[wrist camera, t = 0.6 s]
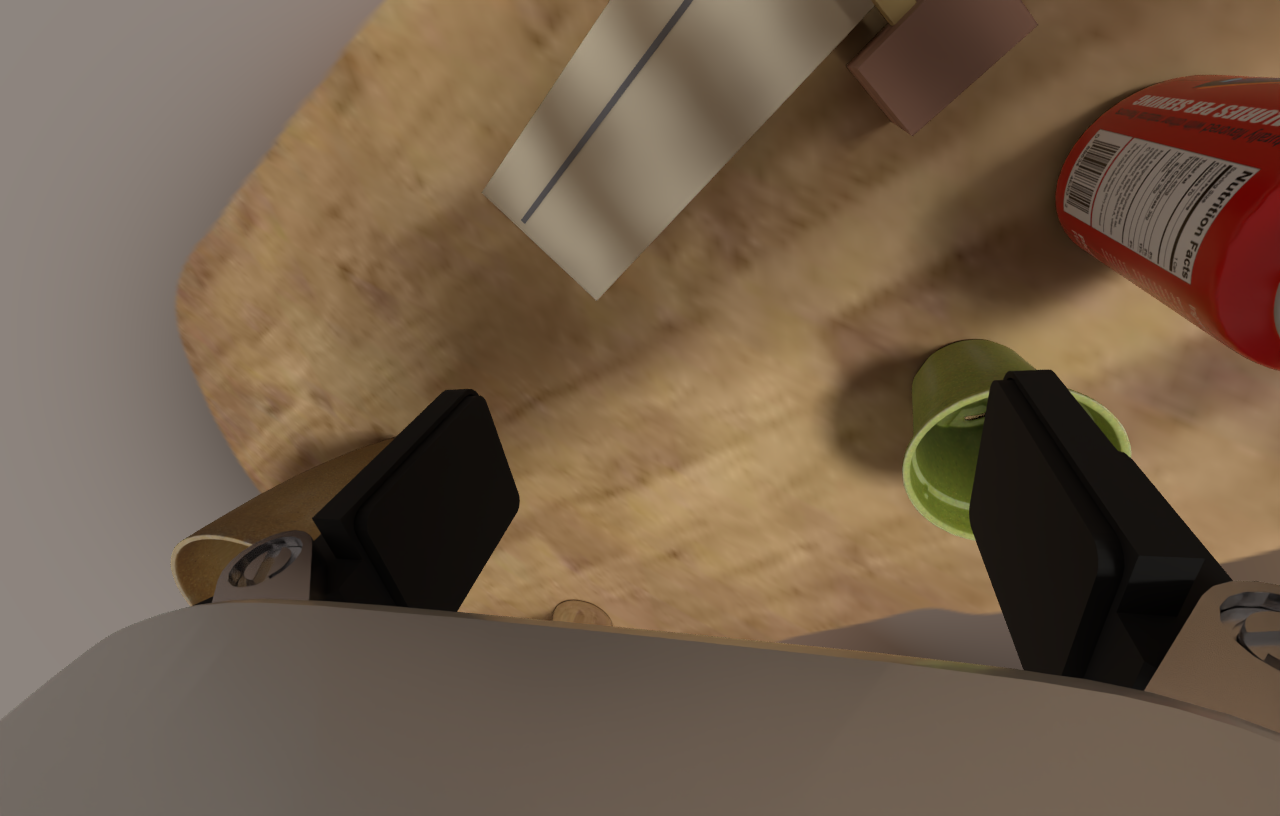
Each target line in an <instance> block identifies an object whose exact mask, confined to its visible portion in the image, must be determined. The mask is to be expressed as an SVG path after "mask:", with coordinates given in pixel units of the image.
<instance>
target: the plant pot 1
mask: <svg viewBox="0 0 1280 816" xmlns="http://www.w3.org/2000/svg"><path fill="white" fill-rule="evenodd" d="M394 439H395V438H391V439H388V440H385V441H381V442H378V443H375V444H372V445H369V446H366V447H363V448H361V449H358V450H355V451H352V452H350V453H347V454H345V455H342V456H340V457H337V458H335V459H333V460H330V461H328V462H326V463H323V464H321V465H319V466H317V467H314V468H312V469H310V470H308V471H306V472H304V473H301V474H299V475H297V476H295V477H293V478H291V479H289V480H287V481H285V482H283V483H281V484H279V485H277V486H275V487H274V488H272V489H270V490H268V491H266V492H264V493H262V494H260V495H258V496H257V497H255V498H253V499H251V500H249V501H248V502H246V503H244V504H243V505H241V506H239V507H237V508H236V509H234V510H232V511H231V512H229V513H227V514H226V515H224V516H222V517H220V518H219V519H217V520H215V521H214V522H212V523H210V524H208V525H207V526H205V527H203V528H202V529H200V530H198V531H197V532H195V533H194V534H192V535H190V536H189V537H187V538H186V539H184V540H182V541H181V542H180V543H178V544H177V546H176V547H175V548H174V550H173V553H172V556H171V570H172V574H173V577H174V580H175V582H176V585H177V587H178V589H179V590H180V592H181V593H182V595H183V597H184V598H185V599H186V601H187V603H188V604H189V605H190V606H193V605H195V604H197V603H199V602H202V601H204V600H206V599H208V598H210V597H213V596H214V592H215V589H216V585H217V581H218V579H219V577H220V575H221V572H222V570H223V569H224V568H225V567H226V566H227V565H228V564H229V562H230V561H231V560H232V559H233V558H235V557H236V556H237V555H238V554H239V553H241V552H242V551H243V550H245V549H246V548H248V547H250V546H251V545H253V544H254V543H256V542H258V541H260V540H262V539H264V538H267V537H269V536H271V535H274V534H278V533H281V532H284V531H292V530H299V531H305V532H306V533H308V534H309V535H311V537H312V539H313V540H315V539H316V538H317V537H318V536H319V535H320V534H321V533H320V531H319V530H318V528H317V526H316V525H315V523H314V521H313V520H312V518H313V517H314V516H315V515H316V514H317V513H318V512H319V511H320V510H321V509H322V508H323V507H324V506H325V505H326V504H327V503H328V502H329V501H330V500H331V499H332V498H333V497H334V496H335V495H336V494H337V493H338V492H340V491H341V490H342V489H343V488H344V487H345V486H346V485H347V484H348V483H349V482H350V481H351V480H352V479H353V478H354V477H355V476H356V475H357V474H358V473H359V472H360V471H361V470H362V469H363V468H364V467H365V466H367V465H368V464H369V463H370V462H371V461H372V460H373V459H374V458H375V457H376V456H377V455H378V454H379V453H380V452H381V451H382V450H383V449H384V448H385V447H386V446H387V445H388V444H389V443H390V442H391V441H392V440H394Z"/></svg>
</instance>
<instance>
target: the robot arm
mask: <svg viewBox="0 0 1280 816" xmlns="http://www.w3.org/2000/svg"><path fill="white" fill-rule="evenodd" d="M519 503H520V499H519V493H518V490H517V488H516V485H515V482H514V479H513V476H512V473H511V471H510V468H509V465H508V462H507V459H506V456H505V454H504V451H503V448H502V445H501V442H500V439H499V437H498V434H497V431H496V428H495V425H494V422H493V419H492V417H491V414H490V411H489V408H488V405H487V403H486V400H485V399H484V398H483V397H482V396H479V395H478V393H477V392H476V391H474V390H472V389H460V390H445V391H444V392H442V393H441V394H440V395H439V396H438V397H437V398H436V399H435V400H434V401H433V402H432V403H431V404H430V405H429V406H428V407H427V408H426V409H425V410H424V411H423V412H422V413H420V414H419V415H418V416H417V417H416V418H415V419H414V420H413V421H412V422H411V423H410V424H409V425H408V426H407V427H406V428H405V429H404V430H403V431H402V432H401V433H400V434H399V435H398V436H397V437H396V438H395V439H394V440H392V441H391V442H390V443H389V444H388V445H387V446H386V447H385V448H384V449H383V450H382V451H381V452H380V453H379V454H378V455H377V456H376V457H375V458H374V459H373V460H372V461H371V462H370V463H369V464H368V465H367V466H365V467H364V468H363V469H362V470H361V471H360V472H359V473H358V474H357V475H356V476H355V477H354V478H353V479H352V480H351V481H350V482H349V483H348V484H347V485H346V486H345V487H344V488H343V489H342V490H341V491H340V492H338V493H337V494H336V495H335V496H334V497H333V498H332V499H331V500H330V501H329V502H328V503H327V504H326V505H325V506H324V507H323V508H322V509H321V510H320V511H319V512H318V513H317V514H316V515H315V516H314V517H313V518H312V520H313V521H314V523H315V525H316V526H317V528H318V530H319V531H320V533H321V534H320V535H319V536H318V537H317V538H316V539H315V540H313V539H312V537H311V535H309V534H308V533H306V532H305V531H299V530H292V531H284V532H281V533H278V534H274V535H271V536H269V537H267V538H264V539H262V540H260V541H258V542H256V543H254V544H253V545H251V546H250V547H248V548H246V549H245V550H243V551H242V552H241V553H239V554H238V555H237V556H236V557H235V558H233V559H232V560H231V561H230V562H229V564H228V565H227V566H226V567H225V568H224V569H223V570H222V572H221V575H220V577H219V579H218V581H217V585H216V589H215V592H214V596H213V597H210V598H208V599H206V600H204V601H202V602H199V603H197V604H195V605H193V606H190V607H186V608H183V609H179V610H175V611H171V612H167V613H163V614H160V615H157V616H154V617H151V618H148V619H145V620H143V621H140V622H138V623H135V624H133V625H130V626H128V627H125V628H123V629H121V630H119V631H117V632H115V633H113V634H111V635H110V636H108V637H106V638H105V639H103V640H101V641H100V642H99V643H97V644H96V645H95V646H93V647H92V648H90V649H89V650H87V651H86V652H85V653H83V654H82V655H81V656H80V657H78V658H77V659H76V660H74V661H73V662H72V663H71V664H69V665H68V666H67V667H66V668H64V669H63V670H62V671H60V672H59V673H58V674H56V675H55V676H54V677H53V678H51V679H50V680H49V681H47V682H46V683H45V684H44V685H42V686H41V687H40V688H39V689H37V690H36V691H35V692H34V693H32V694H31V695H30V696H29V697H28V698H26V699H25V700H24V701H23V702H21V703H20V704H19V705H18V706H17V707H15V708H14V709H13V710H12V711H10V712H9V713H8V714H7V715H6V716H4V717H3V718H2V719H1V720H0V816H1280V585H1276V584H1270V583H1264V582H1259V581H1233V580H1232V579H1231V578H1230V577H1229V575H1228V574H1227V573H1226V572H1225V571H1224V569H1223V568H1222V567H1221V566H1220V565H1219V563H1218V562H1217V561H1216V560H1215V559H1214V557H1213V556H1212V555H1211V554H1210V553H1209V551H1208V550H1207V549H1206V548H1205V546H1204V545H1203V544H1202V543H1201V542H1200V540H1199V539H1198V538H1197V537H1196V536H1195V534H1194V533H1193V532H1192V531H1191V530H1190V528H1189V527H1188V526H1187V525H1186V524H1185V522H1184V521H1183V520H1182V519H1181V518H1180V516H1179V515H1178V514H1177V513H1176V512H1175V510H1174V509H1173V508H1172V507H1171V505H1170V504H1169V503H1168V502H1167V501H1166V499H1165V498H1164V497H1163V496H1162V495H1161V493H1160V492H1159V491H1158V490H1157V489H1156V487H1155V486H1154V485H1153V484H1152V483H1151V481H1150V480H1149V479H1148V478H1147V477H1146V475H1145V474H1144V473H1143V472H1142V471H1141V469H1140V468H1139V467H1138V466H1137V464H1136V463H1135V462H1134V461H1133V460H1132V459H1131V458H1130V457H1129V456H1128V455H1127V454H1126V453H1124V452H1121V451H1118V450H1117V449H1116V448H1115V447H1114V446H1113V444H1112V443H1111V442H1110V441H1109V439H1108V438H1107V437H1106V436H1105V434H1104V433H1103V432H1102V431H1101V429H1100V428H1099V427H1098V426H1097V425H1096V423H1095V422H1094V421H1093V420H1092V418H1091V417H1090V416H1089V415H1088V413H1087V412H1086V411H1085V410H1084V409H1083V407H1082V406H1081V405H1080V404H1079V402H1078V401H1077V400H1076V399H1075V397H1074V396H1073V395H1072V394H1071V392H1070V391H1069V390H1068V389H1067V388H1066V386H1065V385H1064V384H1063V383H1062V381H1061V380H1060V379H1059V378H1058V376H1057V375H1056V374H1055V373H1054V372H1053V371H1052V370H1023V371H1008V372H1007V373H1006V374H1005V376H1004V378H1003V380H994V381H993V382H992V384H991V386H990V390H989V396H988V402H987V407H986V413H985V419H984V425H983V430H982V436H981V442H980V448H979V454H978V459H977V465H976V471H975V477H974V482H973V488H972V494H971V500H970V506H969V520H970V525H971V529H972V532H973V534H974V537H975V540H976V543H977V545H978V548H979V551H980V553H981V556H982V559H983V561H984V564H985V567H986V570H987V572H988V575H989V578H990V580H991V583H992V586H993V588H994V591H995V594H996V597H997V599H998V602H999V605H1000V607H1001V610H1002V613H1003V615H1004V618H1005V621H1006V624H1007V626H1008V629H1009V632H1010V634H1011V637H1012V639H1013V642H1014V645H1015V648H1016V651H1017V653H1018V656H1019V659H1020V661H1021V664H1022V667H1023V669H1024V670H1018V669H1012V668H1003V667H994V666H985V665H977V664H970V663H961V662H952V661H944V660H935V659H925V658H916V657H908V656H900V655H891V654H882V653H874V652H864V651H854V650H844V649H834V648H824V647H814V646H805V645H795V644H785V643H775V642H765V641H755V640H745V639H735V638H726V637H716V636H706V635H696V634H686V633H675V632H665V631H655V630H644V629H634V628H624V627H613V626H603V625H592V624H582V623H571V622H561V621H550V620H540V619H529V618H518V617H508V616H496V615H485V614H474V613H463V612H457V611H458V609H459V607H460V606H461V604H462V602H463V601H464V599H465V598H466V596H467V594H468V593H469V591H470V589H471V588H472V586H473V584H474V583H475V581H476V579H477V578H478V576H479V574H480V573H481V571H482V569H483V568H484V566H485V564H486V563H487V561H488V560H489V558H490V556H491V555H492V553H493V551H494V550H495V548H496V546H497V545H498V543H499V541H500V540H501V538H502V536H503V535H504V533H505V531H506V530H507V528H508V526H509V525H510V523H511V521H512V520H513V518H514V517H515V515H516V513H517V511H518V509H519Z"/></svg>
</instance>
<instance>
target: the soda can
mask: <svg viewBox="0 0 1280 816" xmlns="http://www.w3.org/2000/svg"><path fill="white" fill-rule="evenodd" d="M1055 205H1056V212H1057V216H1058V219H1059V222H1060V224H1061V226H1062V228H1063V230H1064V231H1065V232H1066V234H1067V235H1068V236H1069V238H1070V239H1071V240H1072V241H1073V242H1074V243H1075V244H1077V245H1078V246H1079V247H1080V248H1082V249H1083V250H1085V251H1086V252H1087V253H1089V254H1090V255H1092V256H1093V257H1095V258H1096V259H1098V260H1099V261H1101V262H1102V263H1104V264H1105V265H1107V266H1108V267H1110V268H1111V269H1113V270H1114V271H1116V272H1117V273H1119V274H1120V275H1122V276H1123V277H1125V278H1126V279H1127V280H1129V281H1130V282H1132V283H1133V284H1135V285H1136V286H1138V287H1139V288H1141V289H1142V290H1144V291H1145V292H1147V293H1148V294H1150V295H1151V296H1153V297H1154V298H1156V299H1157V300H1159V301H1160V302H1162V303H1163V304H1165V305H1166V306H1168V307H1169V308H1171V309H1172V310H1174V311H1175V312H1176V313H1178V314H1179V315H1181V316H1182V317H1184V318H1185V319H1187V320H1188V321H1190V322H1191V323H1193V324H1194V325H1196V326H1197V327H1199V328H1200V329H1202V330H1203V331H1205V332H1206V333H1208V334H1209V335H1211V336H1212V337H1214V338H1215V339H1217V340H1218V341H1220V342H1221V343H1223V344H1224V345H1225V346H1227V347H1228V348H1230V349H1232V350H1233V351H1235V352H1236V353H1238V354H1240V355H1241V356H1243V357H1245V358H1247V359H1249V360H1251V361H1253V362H1255V363H1257V364H1260V365H1263V366H1265V367H1268V368H1271V369H1274V370H1278V371H1280V78H1268V77H1247V76H1227V75H1194V76H1186V77H1180V78H1175V79H1170V80H1167V81H1163V82H1160V83H1157V84H1154V85H1151V86H1149V87H1146V88H1144V89H1142V90H1140V91H1138V92H1136V93H1134V94H1132V95H1130V96H1128V97H1127V98H1125V99H1123V100H1122V101H1120V102H1119V103H1117V104H1116V105H1114V106H1113V107H1111V108H1110V109H1109V110H1107V111H1106V112H1105V113H1104V114H1103V115H1101V116H1100V117H1099V118H1098V119H1097V120H1096V121H1095V122H1094V123H1093V124H1092V125H1091V126H1090V127H1089V128H1088V129H1087V130H1086V131H1085V132H1084V133H1083V135H1082V136H1081V137H1080V138H1079V140H1078V141H1077V142H1076V144H1075V145H1074V147H1073V148H1072V150H1071V151H1070V153H1069V155H1068V156H1067V158H1066V160H1065V162H1064V164H1063V167H1062V169H1061V172H1060V175H1059V178H1058V182H1057V186H1056V194H1055Z"/></svg>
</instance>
